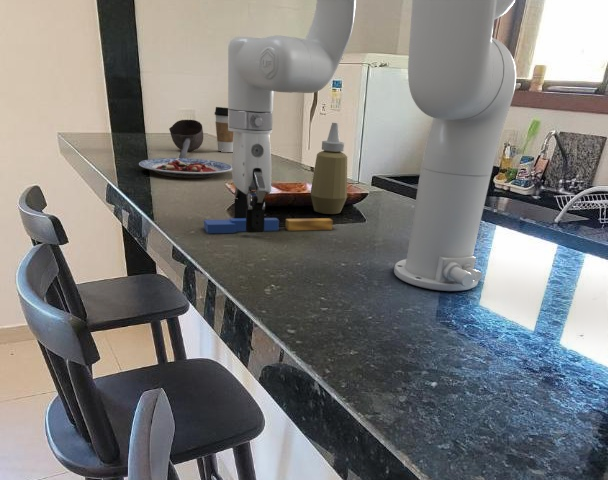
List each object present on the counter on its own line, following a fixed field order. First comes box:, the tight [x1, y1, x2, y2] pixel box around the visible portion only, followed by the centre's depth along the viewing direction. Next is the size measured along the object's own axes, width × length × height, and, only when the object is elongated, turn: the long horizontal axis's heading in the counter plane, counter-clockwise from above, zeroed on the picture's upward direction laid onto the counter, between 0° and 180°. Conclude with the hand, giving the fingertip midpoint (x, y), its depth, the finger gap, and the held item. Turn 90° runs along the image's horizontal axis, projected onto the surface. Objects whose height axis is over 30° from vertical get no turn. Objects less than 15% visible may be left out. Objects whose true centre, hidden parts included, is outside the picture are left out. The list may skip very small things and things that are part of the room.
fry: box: [284, 217, 334, 232], centre depth 102 cm, size 9×2×2 cm, turn 110°
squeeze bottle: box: [309, 122, 348, 215], centre depth 113 cm, size 8×8×18 cm
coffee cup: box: [214, 106, 234, 153], centre depth 194 cm, size 8×8×15 cm
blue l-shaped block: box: [203, 217, 280, 235], centre depth 98 cm, size 14×4×2 cm, turn 110°
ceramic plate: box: [138, 157, 232, 179], centre depth 149 cm, size 26×26×3 cm
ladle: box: [168, 119, 204, 158], centre depth 180 cm, size 12×38×10 cm, turn 8°
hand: (248, 225), depth 98 cm, fingers open, 8 cm apart
